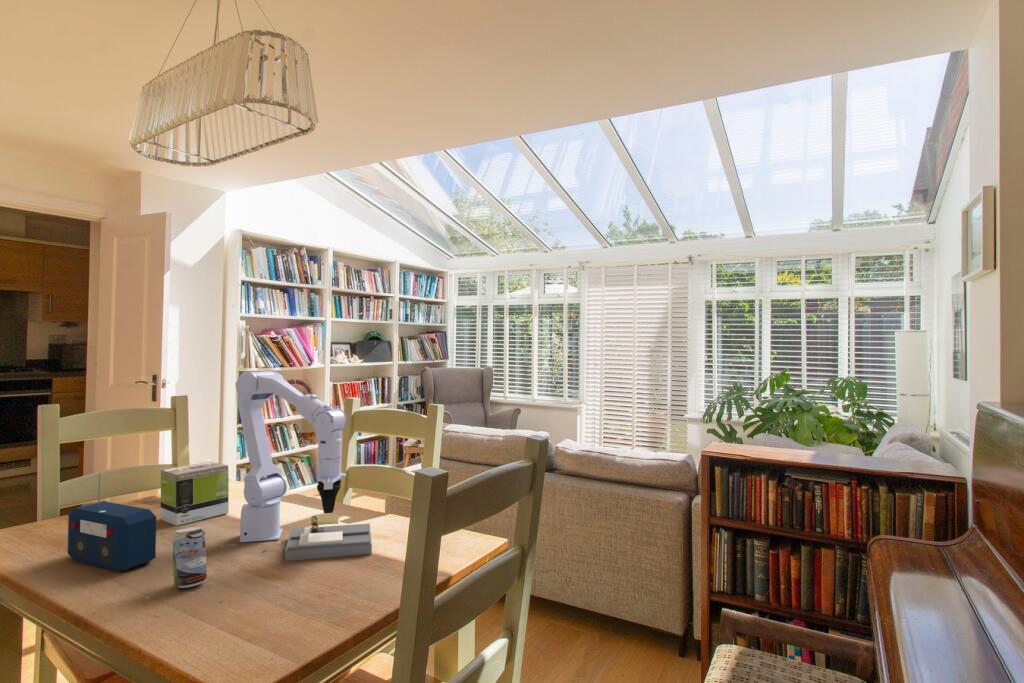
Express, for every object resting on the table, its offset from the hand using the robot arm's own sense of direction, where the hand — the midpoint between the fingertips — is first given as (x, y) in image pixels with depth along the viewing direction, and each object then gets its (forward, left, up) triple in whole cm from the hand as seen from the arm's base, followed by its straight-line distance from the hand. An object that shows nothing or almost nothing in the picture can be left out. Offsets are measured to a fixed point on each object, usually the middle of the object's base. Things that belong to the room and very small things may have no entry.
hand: (328, 510), depth 142 cm
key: (-1, +6, -7) cm, 9 cm away
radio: (-48, +3, -10) cm, 50 cm away
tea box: (-38, +35, -10) cm, 53 cm away
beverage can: (-27, -15, -10) cm, 33 cm away
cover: (-2, -2, -7) cm, 7 cm away
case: (+1, +2, -9) cm, 10 cm away
